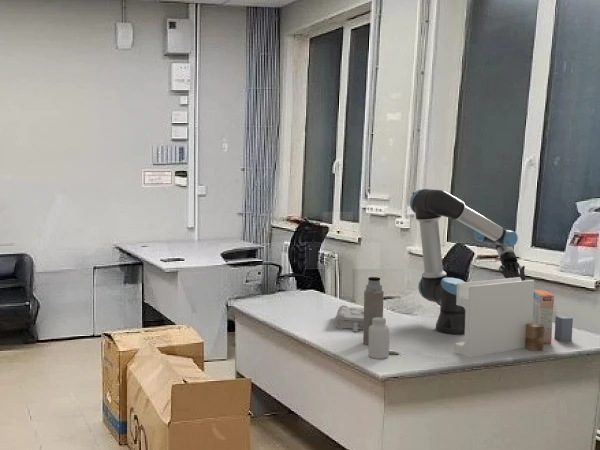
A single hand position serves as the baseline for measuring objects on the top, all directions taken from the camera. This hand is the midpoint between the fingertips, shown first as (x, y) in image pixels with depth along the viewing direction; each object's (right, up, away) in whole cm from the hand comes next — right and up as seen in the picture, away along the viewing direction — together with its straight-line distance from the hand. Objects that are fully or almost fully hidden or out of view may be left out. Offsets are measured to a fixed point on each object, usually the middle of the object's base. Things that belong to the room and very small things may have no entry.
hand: (522, 296), depth 284 cm
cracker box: (+2, -17, -17) cm, 24 cm away
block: (-24, -18, -33) cm, 44 cm away
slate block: (+12, -17, -17) cm, 27 cm away
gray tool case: (-77, -15, +5) cm, 78 cm away
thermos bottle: (-73, -17, -27) cm, 79 cm away
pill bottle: (-73, -19, -45) cm, 88 cm away
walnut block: (-7, -18, -32) cm, 37 cm away
